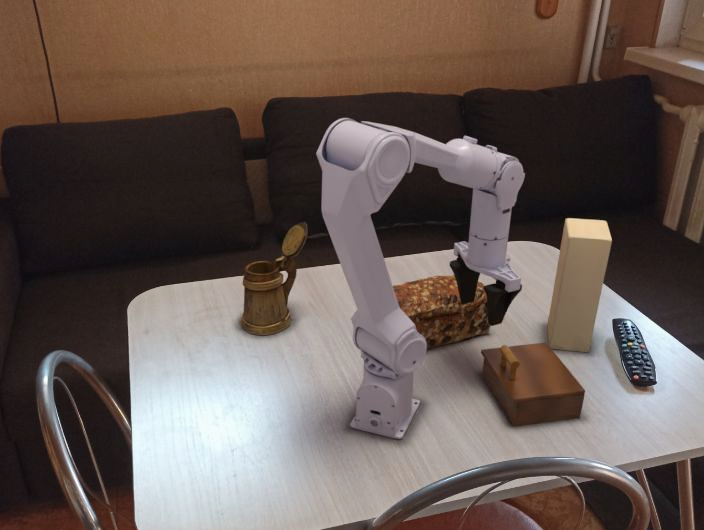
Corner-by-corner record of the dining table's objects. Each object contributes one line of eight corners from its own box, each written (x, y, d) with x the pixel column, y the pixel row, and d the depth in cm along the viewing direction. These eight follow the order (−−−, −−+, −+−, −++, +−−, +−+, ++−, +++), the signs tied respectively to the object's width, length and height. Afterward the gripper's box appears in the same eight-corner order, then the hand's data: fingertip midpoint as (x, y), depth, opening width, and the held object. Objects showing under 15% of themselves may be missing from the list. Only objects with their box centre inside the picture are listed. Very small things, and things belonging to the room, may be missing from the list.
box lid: (512, 402, 100) (516, 379, 98) (480, 352, 111) (482, 331, 109) (584, 393, 101) (589, 371, 99) (545, 345, 113) (549, 323, 111)
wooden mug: (321, 321, 129) (318, 230, 120) (252, 340, 123) (244, 246, 114) (300, 300, 136) (296, 213, 126) (234, 318, 130) (225, 228, 121)
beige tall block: (593, 353, 118) (617, 239, 108) (549, 349, 119) (567, 236, 109) (589, 330, 125) (610, 220, 114) (547, 326, 126) (564, 217, 116)
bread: (399, 358, 118) (400, 307, 113) (373, 328, 126) (373, 279, 121) (494, 335, 124) (499, 285, 119) (462, 308, 132) (466, 260, 127)
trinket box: (513, 426, 102) (516, 402, 100) (481, 374, 113) (484, 352, 111) (580, 417, 103) (584, 394, 101) (542, 367, 115) (545, 345, 113)
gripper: (542, 245, 99) (530, 328, 106) (482, 212, 110) (475, 288, 117) (501, 255, 97) (492, 338, 103) (444, 219, 108) (439, 297, 115)
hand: (480, 312), depth 110 cm, fingers open, 7 cm apart
